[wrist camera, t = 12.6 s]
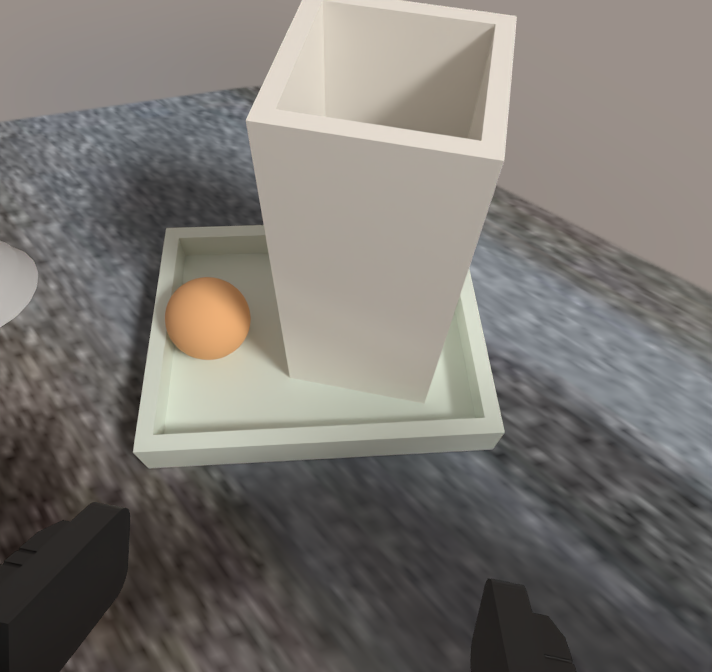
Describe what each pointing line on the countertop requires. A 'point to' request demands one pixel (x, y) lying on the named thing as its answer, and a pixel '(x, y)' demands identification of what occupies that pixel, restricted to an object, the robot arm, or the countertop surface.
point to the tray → (292, 379)
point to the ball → (207, 318)
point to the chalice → (15, 281)
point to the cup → (378, 181)
